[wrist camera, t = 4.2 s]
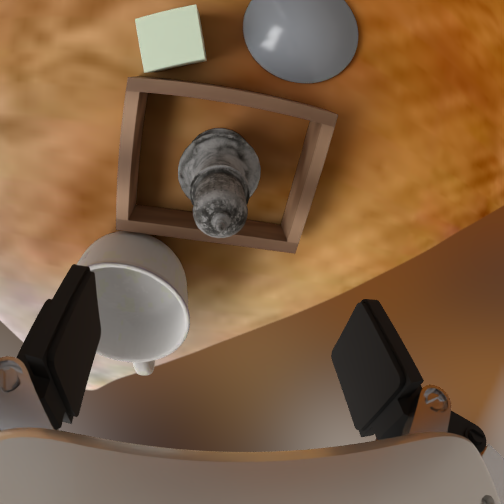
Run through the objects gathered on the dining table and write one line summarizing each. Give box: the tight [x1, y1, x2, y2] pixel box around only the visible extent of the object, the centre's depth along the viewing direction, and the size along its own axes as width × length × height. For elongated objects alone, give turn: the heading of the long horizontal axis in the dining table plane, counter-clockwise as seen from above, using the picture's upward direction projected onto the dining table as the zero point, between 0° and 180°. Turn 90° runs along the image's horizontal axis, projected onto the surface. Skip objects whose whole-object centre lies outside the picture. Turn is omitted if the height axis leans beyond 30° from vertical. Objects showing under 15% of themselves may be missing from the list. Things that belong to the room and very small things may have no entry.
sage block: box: [135, 5, 207, 73], centre depth 18 cm, size 4×4×4 cm
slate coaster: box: [243, 0, 358, 83], centre depth 19 cm, size 9×9×1 cm
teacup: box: [77, 231, 190, 375], centre depth 27 cm, size 14×11×8 cm
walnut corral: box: [116, 76, 338, 253], centre depth 24 cm, size 12×15×3 cm
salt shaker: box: [178, 128, 261, 238], centre depth 20 cm, size 6×6×12 cm
